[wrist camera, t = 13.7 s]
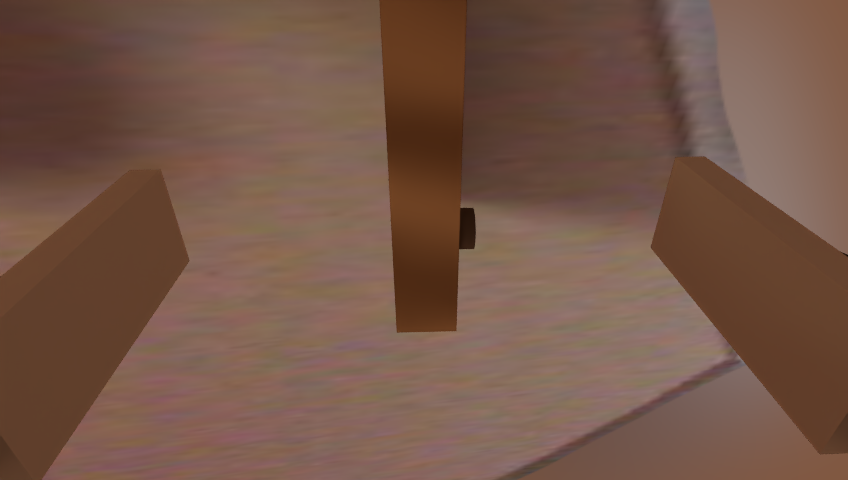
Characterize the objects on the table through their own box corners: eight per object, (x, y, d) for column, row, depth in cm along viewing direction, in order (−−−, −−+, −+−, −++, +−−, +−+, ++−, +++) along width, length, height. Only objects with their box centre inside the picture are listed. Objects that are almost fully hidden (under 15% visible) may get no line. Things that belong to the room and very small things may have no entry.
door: (457, 192, 38) (483, 330, 24) (401, 193, 38) (396, 332, 24) (467, -145, 27) (524, -238, 14) (389, -144, 27) (367, -237, 14)
